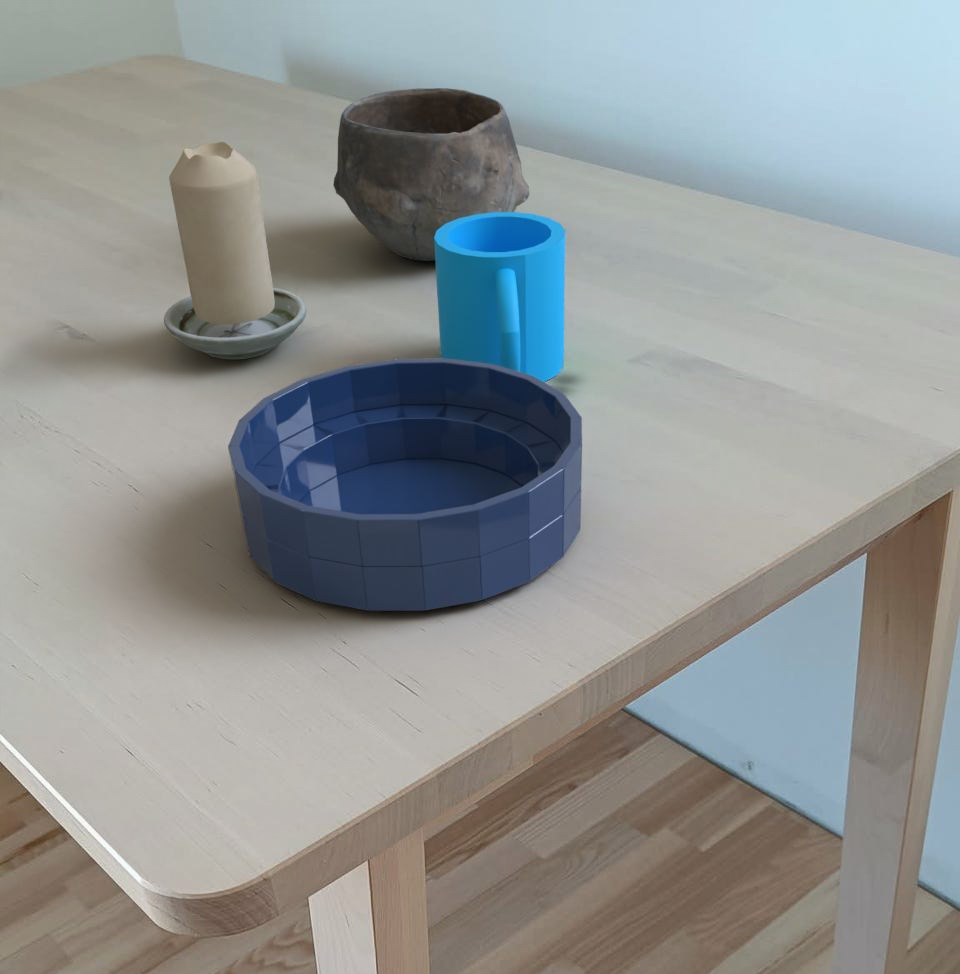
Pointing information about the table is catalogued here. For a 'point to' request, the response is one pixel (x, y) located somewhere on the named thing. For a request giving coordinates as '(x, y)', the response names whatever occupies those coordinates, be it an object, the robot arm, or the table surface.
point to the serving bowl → (409, 482)
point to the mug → (502, 291)
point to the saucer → (236, 328)
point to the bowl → (425, 164)
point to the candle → (222, 234)
